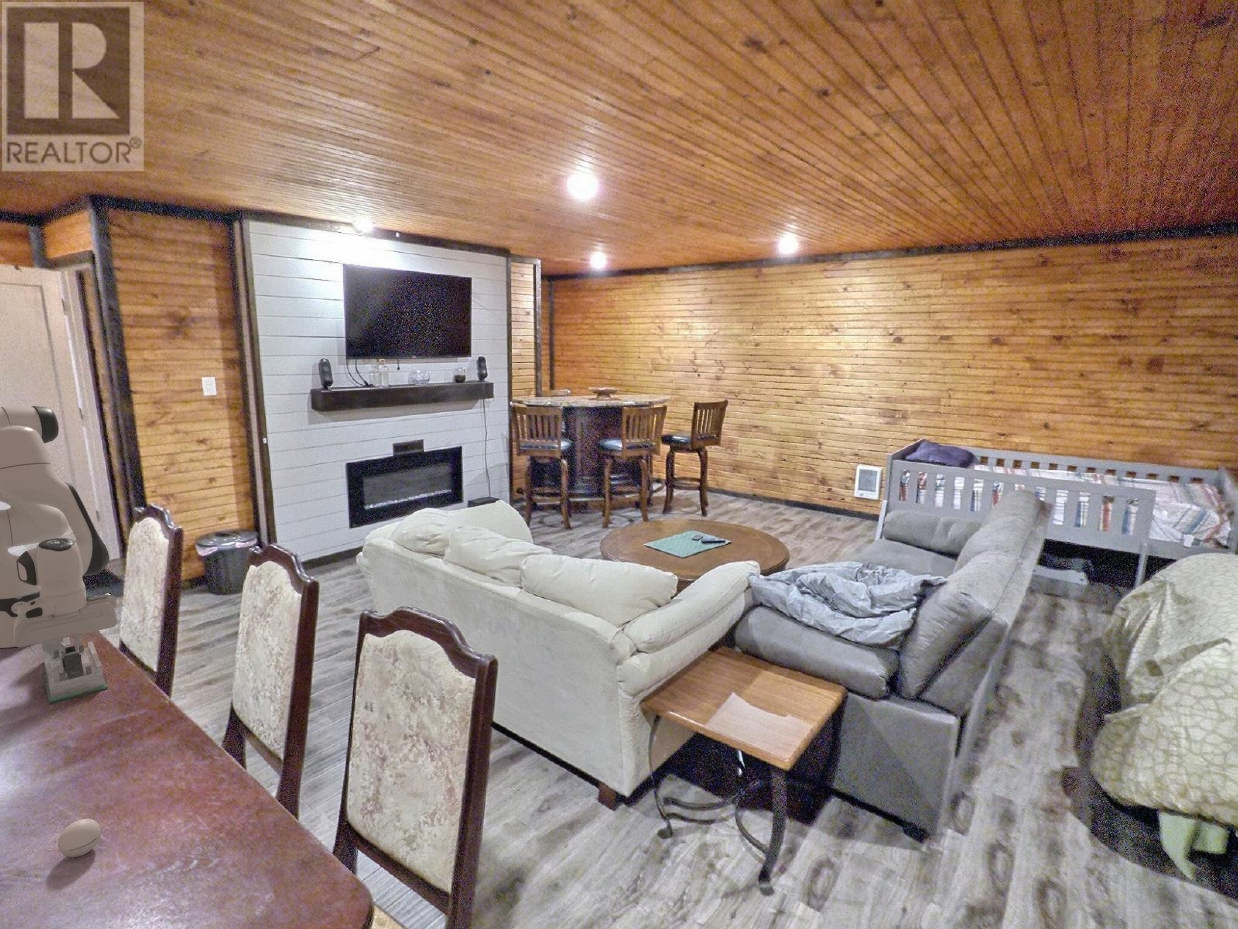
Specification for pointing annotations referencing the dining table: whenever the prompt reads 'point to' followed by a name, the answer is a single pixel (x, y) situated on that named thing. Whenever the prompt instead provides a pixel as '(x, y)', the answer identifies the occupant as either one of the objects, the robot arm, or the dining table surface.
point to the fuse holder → (75, 686)
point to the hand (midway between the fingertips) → (70, 652)
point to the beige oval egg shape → (79, 838)
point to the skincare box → (54, 646)
